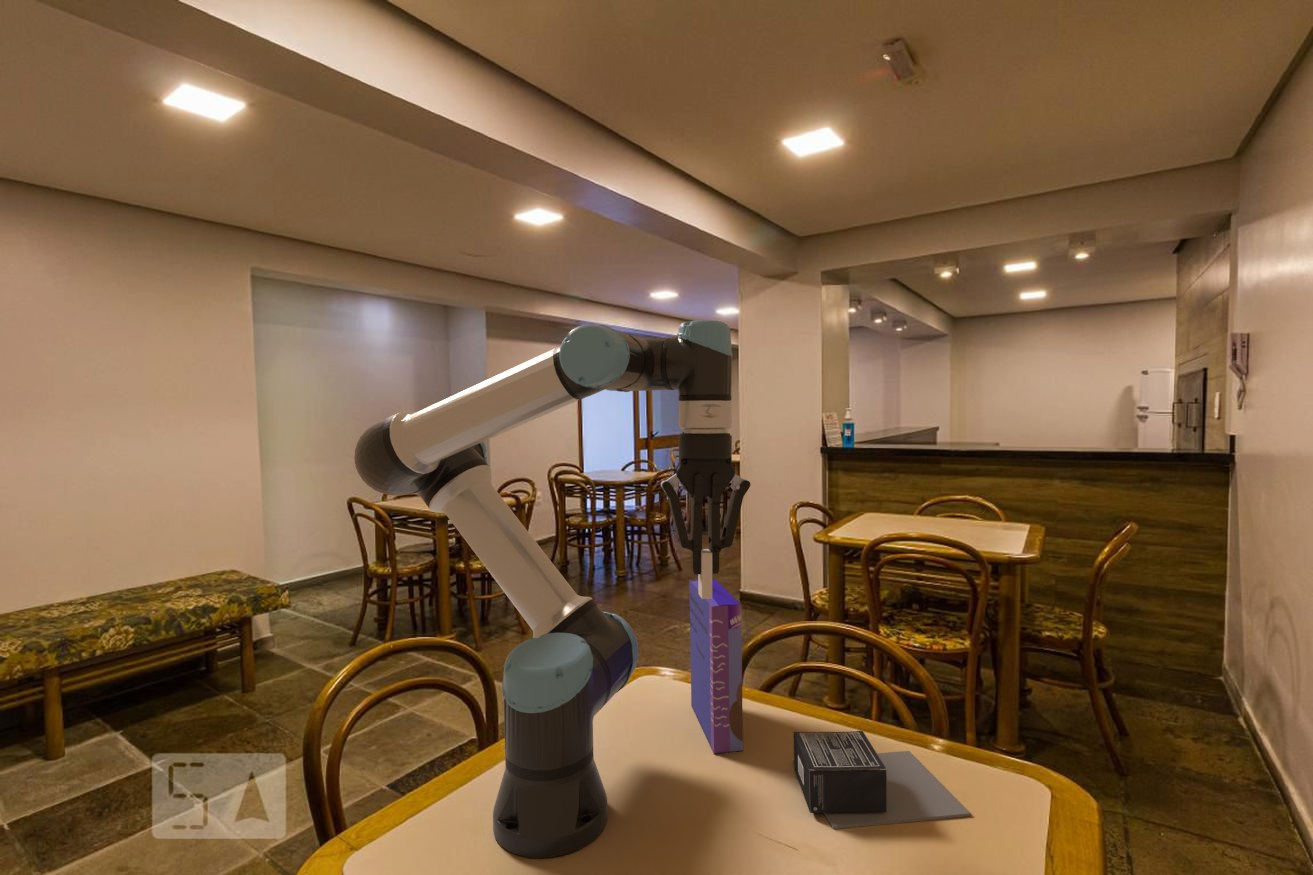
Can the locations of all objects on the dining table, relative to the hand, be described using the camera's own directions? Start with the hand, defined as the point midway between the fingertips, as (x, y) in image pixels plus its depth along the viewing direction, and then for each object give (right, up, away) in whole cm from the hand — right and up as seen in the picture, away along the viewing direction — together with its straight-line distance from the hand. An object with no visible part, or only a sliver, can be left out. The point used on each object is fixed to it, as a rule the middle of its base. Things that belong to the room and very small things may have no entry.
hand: (705, 595), depth 91 cm
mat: (+24, -28, 0) cm, 37 cm away
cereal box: (+3, -28, +19) cm, 34 cm away
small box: (+13, -24, -1) cm, 28 cm away
